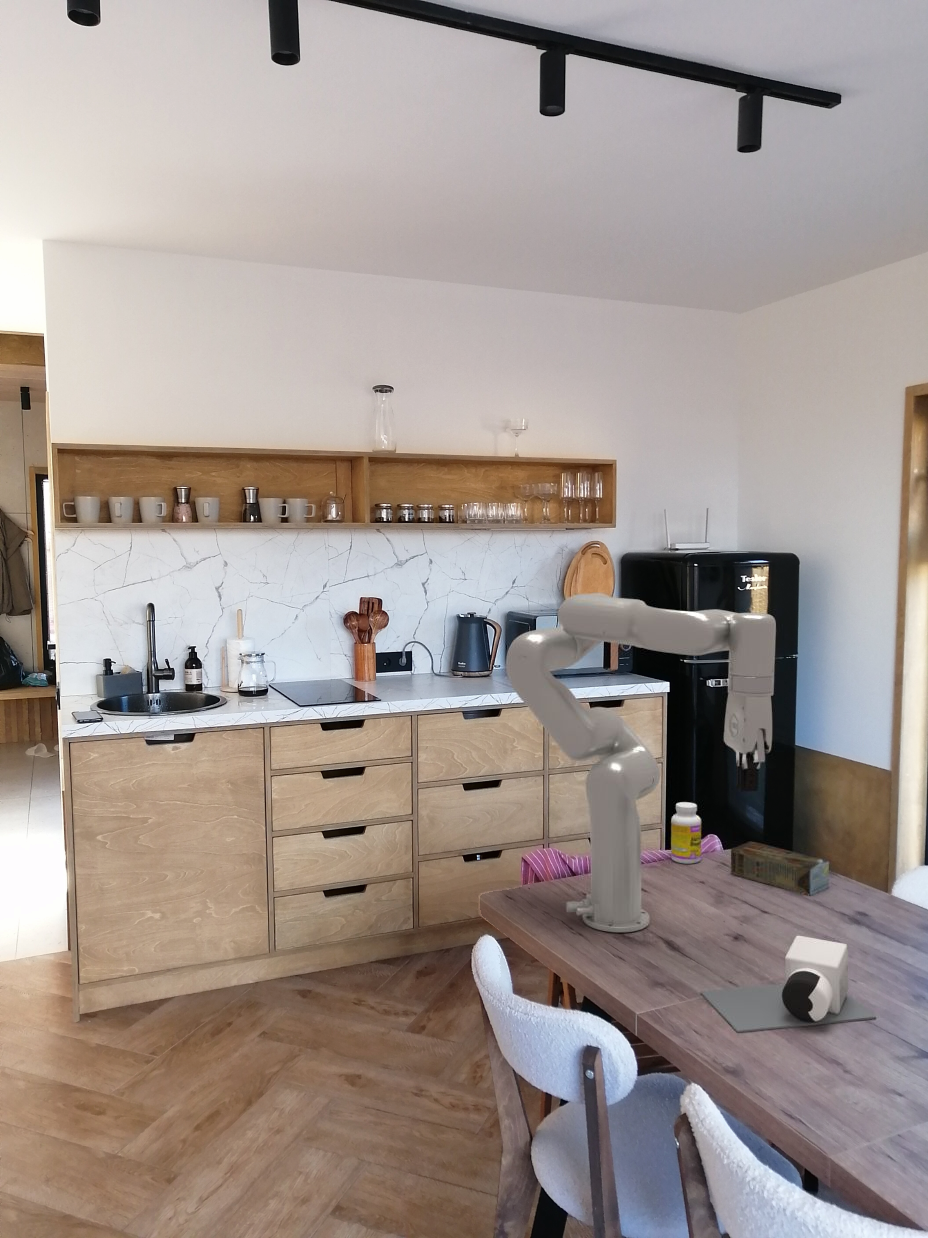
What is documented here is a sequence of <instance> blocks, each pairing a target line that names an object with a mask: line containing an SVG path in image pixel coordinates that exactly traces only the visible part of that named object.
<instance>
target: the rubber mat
mask: <svg viewBox="0 0 928 1238" xmlns="http://www.w3.org/2000/svg"><path fill="white" fill-rule="evenodd" d="M785 984H786V983H779V984H769V985H768V984H767V985H756V986H746V987H744V986H743V987H736V988H735V987H734V988H725V989H712V990H705V991H704V990H702V991H700V995H702V997H703V998H704V1000H706V1001H707V1002H708V1003H709V1004H710V1006H712V1007H713V1009H715V1011H716V1012H717V1013H718V1014H719V1015H720V1016H721V1017H722V1018H723V1019H724V1020H725V1021H726V1023H727V1024H729V1025H730V1026H731V1028H732V1029H733V1030H735V1032H736V1033H738V1034H739V1033H741V1034H742V1033H747V1032H748V1033H749V1032H751V1033H752V1032H758V1031H769V1030H779V1029H790V1028H797V1027H798V1028H799V1027H808V1026H816V1025H819V1026H820V1025H828V1024H829V1025H830V1024H838V1023H848V1022H854V1021H855V1022H857V1021H868V1020H876V1019H877V1016H876V1015H875V1014H873V1013H872V1012H871V1011H870V1010H868V1009H867V1008H866V1007H864V1006H863V1005H862V1004H861V1003H859V1002H858V1001H857V1000H856V999H854V998H853V997H852V996H850V995H849V994H848V993H847V994H846V996H845V999H844V1001H843V1004H842V1007H841V1009H840V1012H839V1013H838V1014H835V1013H830V1012H827V1013H826V1015H825V1016H824V1017H823V1018H822V1019H821V1020H819V1021H815V1022H806V1021H802V1020H800V1019H798V1018H796V1017H794V1016H793V1015H792V1014H791V1013H790V1012H789V1011H788V1010H787V1009H786V1007H785V1005H784V1003H783V1000H782V991H783V988H784V986H785Z"/></svg>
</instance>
